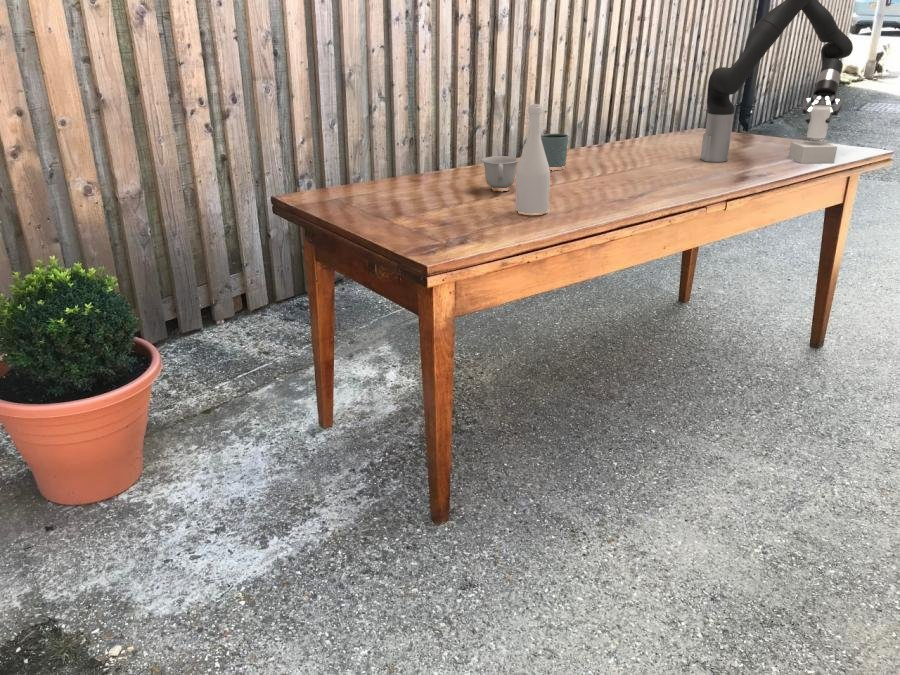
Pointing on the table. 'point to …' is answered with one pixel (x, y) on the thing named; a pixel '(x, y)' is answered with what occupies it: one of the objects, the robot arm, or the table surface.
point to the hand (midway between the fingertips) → (817, 122)
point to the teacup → (500, 170)
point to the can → (818, 121)
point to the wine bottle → (533, 169)
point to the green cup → (555, 149)
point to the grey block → (812, 152)
